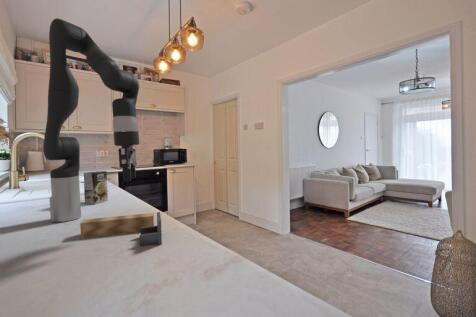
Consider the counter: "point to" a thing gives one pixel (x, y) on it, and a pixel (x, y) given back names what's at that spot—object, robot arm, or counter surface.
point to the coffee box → (95, 187)
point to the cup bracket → (151, 233)
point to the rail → (115, 224)
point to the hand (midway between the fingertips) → (130, 179)
